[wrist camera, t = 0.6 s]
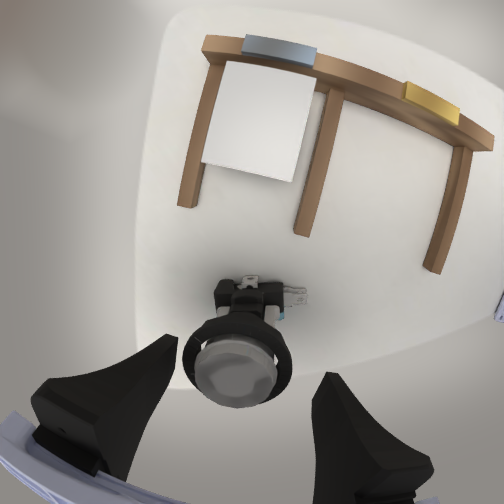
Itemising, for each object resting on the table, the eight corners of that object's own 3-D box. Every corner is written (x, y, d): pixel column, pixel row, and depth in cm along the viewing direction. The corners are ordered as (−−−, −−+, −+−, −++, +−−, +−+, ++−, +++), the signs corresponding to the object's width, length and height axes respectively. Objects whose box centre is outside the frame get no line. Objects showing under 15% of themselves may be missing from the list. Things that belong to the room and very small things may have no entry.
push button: (305, 257, 20) (326, 331, 11) (305, 321, 22) (318, 417, 12) (213, 261, 21) (165, 333, 11) (221, 324, 22) (188, 415, 13)
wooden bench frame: (464, 138, 16) (499, 135, 12) (431, 268, 19) (460, 290, 15) (219, 57, 17) (203, 30, 12) (183, 202, 20) (158, 212, 15)
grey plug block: (305, 105, 17) (316, 78, 12) (287, 179, 19) (291, 182, 13) (241, 91, 17) (227, 60, 12) (223, 164, 19) (200, 162, 13)
